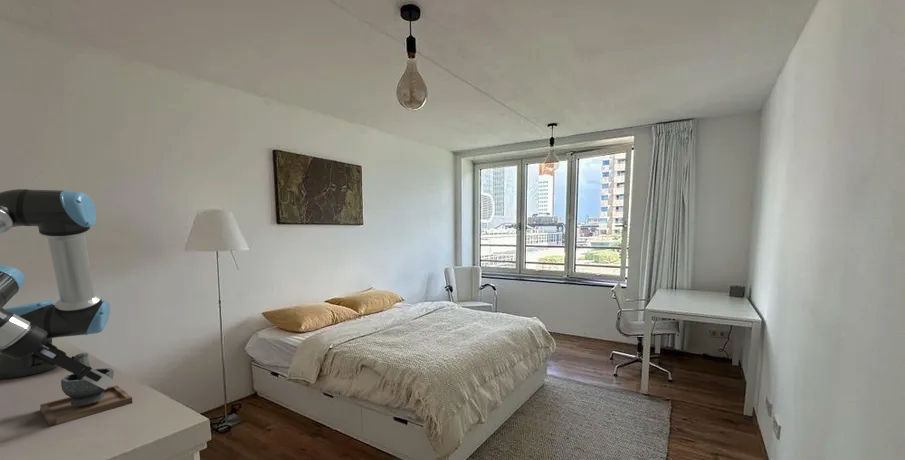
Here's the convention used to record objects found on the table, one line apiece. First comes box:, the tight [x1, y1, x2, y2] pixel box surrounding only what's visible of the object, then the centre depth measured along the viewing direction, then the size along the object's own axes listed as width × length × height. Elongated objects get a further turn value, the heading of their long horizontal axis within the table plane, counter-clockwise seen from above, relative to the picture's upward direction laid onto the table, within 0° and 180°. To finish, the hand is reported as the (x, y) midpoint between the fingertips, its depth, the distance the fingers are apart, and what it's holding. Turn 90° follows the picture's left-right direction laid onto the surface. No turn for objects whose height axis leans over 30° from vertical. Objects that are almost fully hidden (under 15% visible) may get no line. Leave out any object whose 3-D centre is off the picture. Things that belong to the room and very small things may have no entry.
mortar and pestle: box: [60, 352, 115, 406], centre depth 96 cm, size 11×9×12 cm
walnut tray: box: [39, 385, 133, 427], centre depth 96 cm, size 15×15×2 cm
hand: (101, 380), depth 99 cm, fingers closed on mortar and pestle, 11 cm apart
